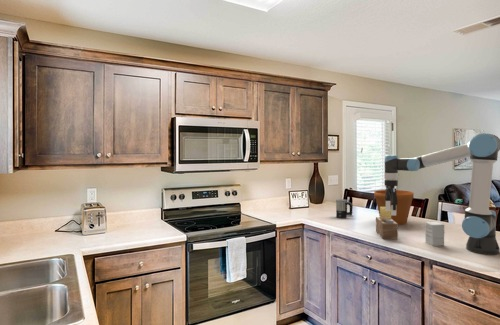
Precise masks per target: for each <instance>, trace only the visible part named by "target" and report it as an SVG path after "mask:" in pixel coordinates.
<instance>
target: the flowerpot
mask: <svg viewBox="0 0 500 325" xmlns="http://www.w3.org/2000/svg"><path fill="white" fill-rule="evenodd" d="M385 193H386V189H380V190H374V192H373V194H374V195H373V196H374V198H375V202H376V206H377V210H378V215H379V216H378V217H380V207H386V200H385ZM396 194H397V202H398V204H397V205H396V216H394V215H391V219H392V220H394V221H395V222H396V223H397V224H398V226H401V225H403V226H404V225H406V224H407V222H408V219H409V214H410V210H411V207H412V202H413V200H414V198H415V197H414V192H413V191H409V190H400V189H396ZM390 199H391V198H390ZM391 203H392V202H391V201H390V207H391Z"/></svg>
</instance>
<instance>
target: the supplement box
mask: <svg viewBox="0 0 500 325" xmlns="http://www.w3.org/2000/svg"><path fill="white" fill-rule="evenodd" d="M424 225H425V226H424V227H425V229H424V230H425V236H424V237H425V244H427V245H430V246H432V247H437V246H441V245H442V246H445V224H444V223H441V222H439V221H430V222H429V221H427V222H426V221H425V224H424Z"/></svg>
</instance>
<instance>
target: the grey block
mask: <svg viewBox="0 0 500 325" xmlns="http://www.w3.org/2000/svg"><path fill="white" fill-rule="evenodd" d="M384 221H385V223H393V220H391V219H390V218H384Z"/></svg>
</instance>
